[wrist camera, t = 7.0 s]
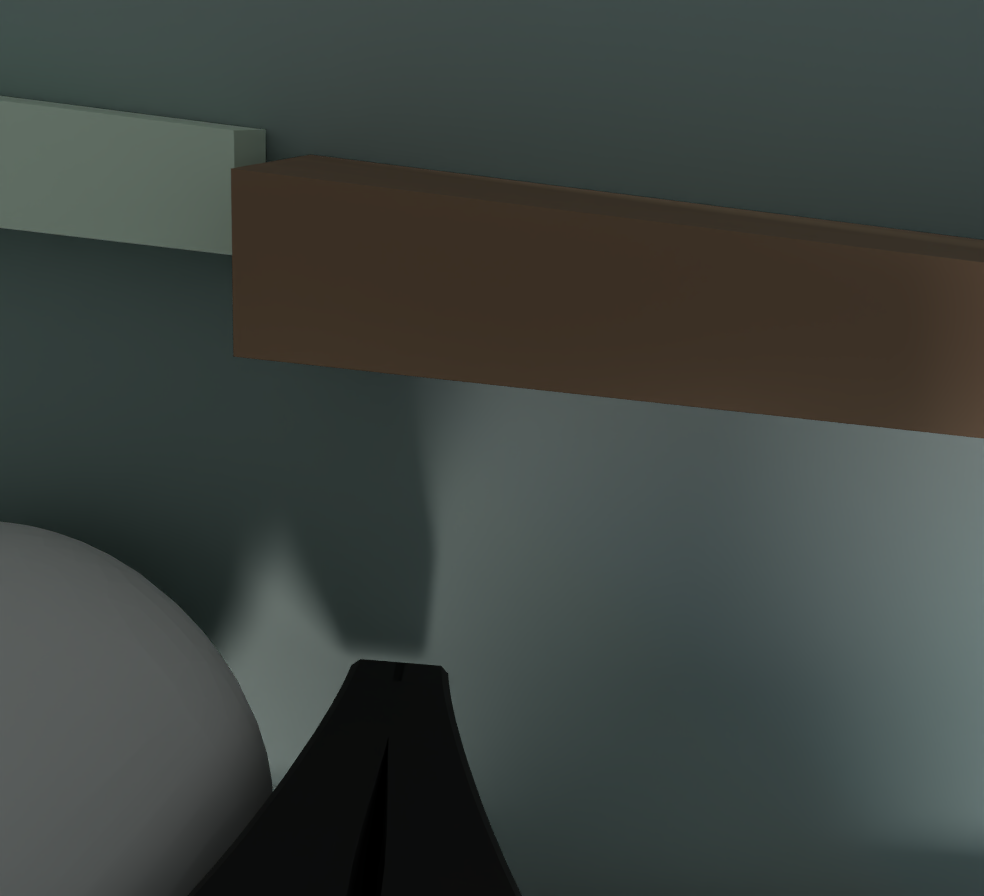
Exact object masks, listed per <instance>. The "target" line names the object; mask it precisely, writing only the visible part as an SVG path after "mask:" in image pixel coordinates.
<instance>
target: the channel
mask: <svg viewBox="0 0 984 896" xmlns="http://www.w3.org/2000/svg"><path fill="white" fill-rule="evenodd" d="M231 216H232V286H233V357H243V358H252V359H261V360H270V361H279V362H288V363H298V364H307V365H316V366H325V367H334V368H343V369H352V370H362V371H371V372H380V373H389V374H398V375H407V376H417V377H426V378H435V379H444V380H453V381H462V382H472V383H481V384H490V385H499V386H508V387H517V388H527V389H536V390H545V391H554V392H563V393H572V394H582V395H591V396H600V397H609V398H618V399H627V400H636V401H646V402H655V403H664V404H673V405H682V406H691V407H701V408H710V409H719V410H728V411H737V412H746V413H756V414H765V415H774V416H783V417H792V418H801V419H811V420H820V421H829V422H838V423H847V424H856V425H866V426H875V427H884V428H893V429H902V430H911V431H921V432H930V433H939V434H948V435H957V436H966V437H975V438H984V240H980V239H972V238H964V237H956V236H948V235H940V234H932V233H924V232H917V231H909V230H901V229H893V228H885V227H877V226H869V225H861V224H854V223H846V222H838V221H830V220H822V219H814V218H806V217H798V216H791V215H783V214H775V213H767V212H759V211H751V210H743V209H735V208H728V207H720V206H712V205H704V204H696V203H688V202H680V201H672V200H664V199H657V198H649V197H641V196H633V195H625V194H617V193H609V192H601V191H594V190H586V189H578V188H570V187H562V186H554V185H546V184H538V183H531V182H523V181H515V180H507V179H499V178H491V177H483V176H475V175H467V174H460V173H452V172H444V171H436V170H428V169H420V168H412V167H404V166H397V165H389V164H381V163H373V162H365V161H357V160H349V159H341V158H334V157H326V156H318V155H305V156H299V157H294V158H288V159H282V160H276V161H271V162H265V163H259V164H254V165H248V166H242V167H237V168H231Z"/></svg>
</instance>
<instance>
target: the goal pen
mask: <svg viewBox="0 0 984 896" xmlns="http://www.w3.org/2000/svg"><path fill="white" fill-rule="evenodd" d="M265 162H266V130H264V129H256V128H248V127H240V126H232V125H225V124H217V123H209V122H201V121H193V120H186V119H178V118H170V117H162V116H155V115H147V114H139V113H131V112H123V111H116V110H108V109H100V108H92V107H85V106H77V105H69V104H61V103H53V102H46V101H38V100H30V99H22V98H15V97H7V96H0V228H6V229H14V230H23V231H31V232H40V233H48V234H57V235H65V236H74V237H82V238H91V239H99V240H108V241H116V242H125V243H133V244H142V245H150V246H159V247H167V248H176V249H184V250H193V251H201V252H210V253H218V254H227V255H232V216H231V168H237V167H242V166H248V165H254V164H259V163H265Z"/></svg>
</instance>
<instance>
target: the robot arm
mask: <svg viewBox="0 0 984 896" xmlns="http://www.w3.org/2000/svg"><path fill="white" fill-rule="evenodd" d="M187 896H522V895H521V893H520V891H519V889H518V887H517V885H516V883H515V880H514V878H513V876H512V874H511V872H510V869H509V867H508V865H507V863H506V861H505V858H504V856H503V854H502V851H501V849H500V846H499V844H498V842H497V839H496V837H495V835H494V832H493V830H492V828H491V825H490V822H489V820H488V817H487V815H486V812H485V810H484V807H483V805H482V802H481V799H480V796H479V793H478V790H477V787H476V785H475V782H474V779H473V776H472V773H471V770H470V767H469V765H468V762H467V758H466V755H465V752H464V749H463V745H462V742H461V738H460V734H459V731H458V727H457V723H456V719H455V715H454V711H453V706H452V701H451V695H450V688H449V679H448V673H447V672H446V671H445V670H444V669H443V667H442V666H435V665H424V664H412V663H400V662H388V661H376V660H364V659H360V660H358V661H357V662H356V663H354V664H353V665H351V667H350V670H349V672H348V674H347V677H346V679H345V681H344V683H343V685H342V686H341V688H340V690H339V692H338V694H337V696H336V698H335V699H334V701H333V703H332V705H331V706H330V708H329V710H328V711H327V713H326V715H325V716H324V718H323V720H322V721H321V723H320V724H319V726H318V728H317V729H316V731H315V732H314V734H313V735H312V737H311V738H310V740H309V741H308V743H307V744H306V746H305V747H304V749H303V750H302V752H301V753H300V754H299V756H298V757H297V759H296V760H295V762H294V763H293V765H292V766H291V768H290V769H289V771H288V772H287V773H286V775H285V776H284V778H283V779H282V780H281V782H280V783H279V785H278V786H277V787H276V789H275V790H274V791H273V792H272V794H271V795H270V796H269V798H268V799H267V800H266V801H265V803H264V804H263V805H262V807H261V808H260V809H259V811H258V812H257V813H256V814H255V816H254V817H253V818H252V820H251V821H250V822H249V823H248V825H247V826H246V827H245V829H244V830H243V831H242V832H241V834H240V835H239V836H238V837H237V839H236V840H235V841H234V842H233V844H232V845H231V846H230V847H229V848H228V850H227V851H226V852H225V853H224V854H223V855H222V857H221V858H220V859H219V860H218V861H217V863H216V864H215V865H214V866H213V867H212V868H211V870H210V871H209V872H208V873H207V874H206V875H205V876H204V878H203V879H202V880H201V881H200V882H199V883H198V884H197V885H196V886H195V888H194V889H193V890H192V891H191V892H190V893H189V894H188V895H187Z"/></svg>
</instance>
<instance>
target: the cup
mask: <svg viewBox="0 0 984 896" xmlns="http://www.w3.org/2000/svg"><path fill="white" fill-rule="evenodd" d="M272 792H273V791H272V779H271V774H270V768H269V763H268V757H267V752H266V749H265V746H264V743H263V739H262V736H261V733H260V730H259V726H258V723H257V721H256V719H255V717H254V715H253V712H252V710H251V708H250V706H249V704H248V702H247V700H246V698H245V696H244V693H243V691H242V689H241V687H240V685H239V683H238V681H237V679H236V678H235V676H234V675H233V673H232V671H231V670H230V668H229V667H228V665H227V664H226V662H225V661H224V659H223V658H222V656H221V655H220V654H219V652H218V651H217V649H216V648H215V647H214V645H213V644H212V642H211V641H210V640H209V638H208V637H207V636H206V635H205V633H204V632H203V631H202V630H201V629H200V628H199V627H198V625H197V624H196V623H195V622H194V621H193V620H192V619H191V618H190V617H189V616H188V615H187V614H186V613H185V612H184V611H183V610H182V609H181V608H180V607H179V606H178V604H176V603H175V602H174V601H173V600H172V599H171V598H169V597H168V596H167V595H166V594H164V593H163V592H162V591H161V590H159V589H158V588H157V587H156V586H155V585H153V584H152V583H151V582H150V581H148V580H147V579H146V578H145V577H144V576H142V575H141V574H140V573H139V572H137V571H135V570H134V569H132V568H130V567H129V566H127V565H125V564H124V563H122V562H121V561H119V560H117V559H116V558H114V557H112V556H111V555H109V554H107V553H105V552H103V551H101V550H99V549H97V548H94V547H92V546H90V545H88V544H86V543H84V542H82V541H79V540H76V539H73V538H71V537H68V536H65V535H62V534H60V533H57V532H53V531H49V530H46V529H41V528H37V527H33V526H29V525H22V524H15V523H8V522H0V896H187V895H188V894H189V893H190V892H191V891H192V890H193V889H194V888H195V886H196V885H197V884H198V883H199V882H200V881H201V880H202V879H203V878H204V876H205V875H206V874H207V873H208V872H209V871H210V870H211V868H212V867H213V866H214V865H215V864H216V863H217V861H218V860H219V859H220V858H221V857H222V855H223V854H224V853H225V852H226V851H227V850H228V848H229V847H230V846H231V845H232V844H233V842H234V841H235V840H236V839H237V837H238V836H239V835H240V834H241V832H242V831H243V830H244V829H245V827H246V826H247V825H248V823H249V822H250V821H251V820H252V818H253V817H254V816H255V814H256V813H257V812H258V811H259V809H260V808H261V807H262V805H263V804H264V803H265V801H266V800H267V799H268V798H269V796H270V795H271V794H272Z"/></svg>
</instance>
